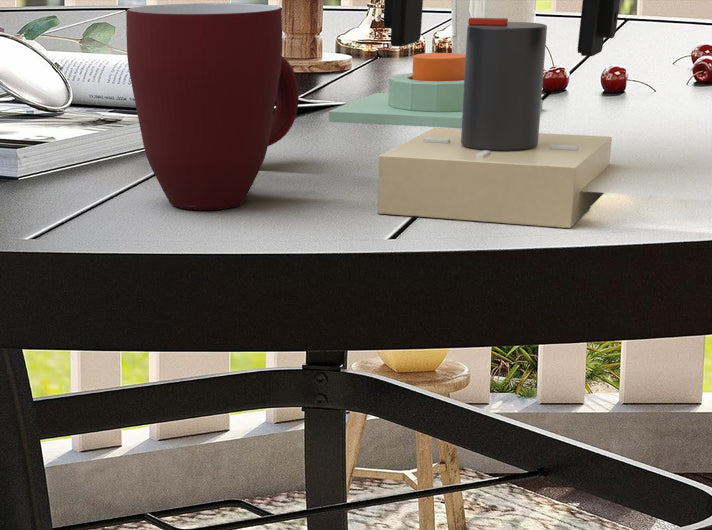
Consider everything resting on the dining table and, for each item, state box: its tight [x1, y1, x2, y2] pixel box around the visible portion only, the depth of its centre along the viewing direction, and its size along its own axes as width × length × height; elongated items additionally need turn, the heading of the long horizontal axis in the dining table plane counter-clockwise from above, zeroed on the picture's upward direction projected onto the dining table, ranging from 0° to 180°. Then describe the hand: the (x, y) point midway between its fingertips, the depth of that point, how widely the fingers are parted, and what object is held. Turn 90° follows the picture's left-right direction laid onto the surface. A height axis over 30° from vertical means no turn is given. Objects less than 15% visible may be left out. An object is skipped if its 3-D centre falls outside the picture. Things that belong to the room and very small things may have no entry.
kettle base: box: [328, 72, 544, 129], centre depth 94 cm, size 12×10×4 cm
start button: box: [411, 52, 466, 81], centre depth 93 cm, size 4×4×2 cm
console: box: [376, 127, 613, 229], centre depth 74 cm, size 10×10×3 cm
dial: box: [461, 17, 548, 151], centre depth 73 cm, size 4×4×6 cm
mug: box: [125, 2, 300, 211], centre depth 75 cm, size 10×8×10 cm
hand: (495, 48), depth 72 cm, fingers open, 9 cm apart
